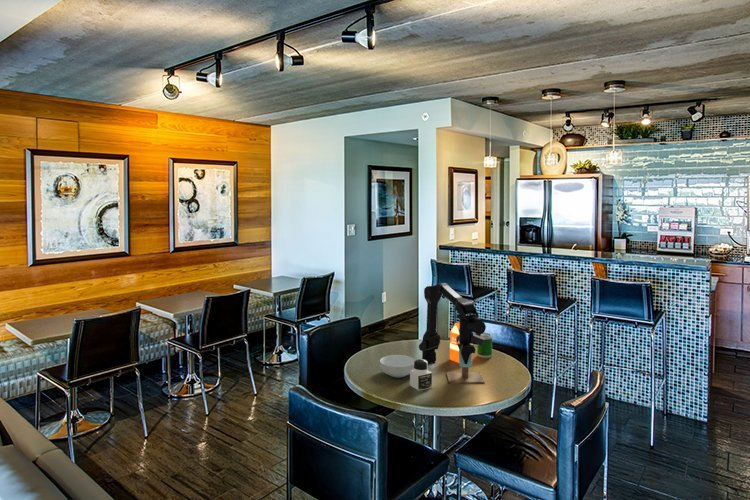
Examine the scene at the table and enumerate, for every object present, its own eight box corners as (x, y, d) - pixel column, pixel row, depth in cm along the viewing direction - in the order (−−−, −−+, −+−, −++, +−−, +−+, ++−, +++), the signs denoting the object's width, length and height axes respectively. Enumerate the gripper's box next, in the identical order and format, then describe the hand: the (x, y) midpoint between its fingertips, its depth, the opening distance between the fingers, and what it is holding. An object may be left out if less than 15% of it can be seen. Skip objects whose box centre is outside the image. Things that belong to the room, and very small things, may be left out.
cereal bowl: (374, 378, 231) (374, 363, 230) (386, 367, 247) (386, 353, 246) (410, 383, 225) (410, 368, 225) (419, 370, 241) (419, 356, 240)
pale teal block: (460, 367, 227) (460, 353, 226) (458, 363, 232) (458, 349, 231) (471, 367, 227) (472, 353, 226) (469, 363, 232) (470, 349, 231)
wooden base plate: (449, 383, 224) (449, 368, 224) (446, 373, 236) (446, 359, 236) (484, 383, 224) (485, 368, 223) (480, 374, 236) (480, 359, 235)
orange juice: (472, 360, 256) (473, 322, 254) (460, 363, 251) (460, 324, 249) (461, 356, 263) (462, 319, 260) (449, 359, 258) (449, 321, 255)
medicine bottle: (418, 391, 216) (418, 364, 215) (409, 385, 222) (409, 359, 221) (432, 388, 219) (432, 361, 218) (423, 382, 226) (423, 357, 224)
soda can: (492, 359, 257) (492, 336, 256) (477, 358, 259) (477, 335, 257) (491, 354, 264) (492, 332, 263) (477, 353, 266) (477, 332, 265)
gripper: (487, 334, 218) (486, 369, 220) (479, 323, 237) (479, 355, 238) (461, 334, 218) (461, 369, 220) (456, 323, 237) (455, 355, 239)
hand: (465, 362), depth 229 cm, fingers closed on pale teal block, 5 cm apart
